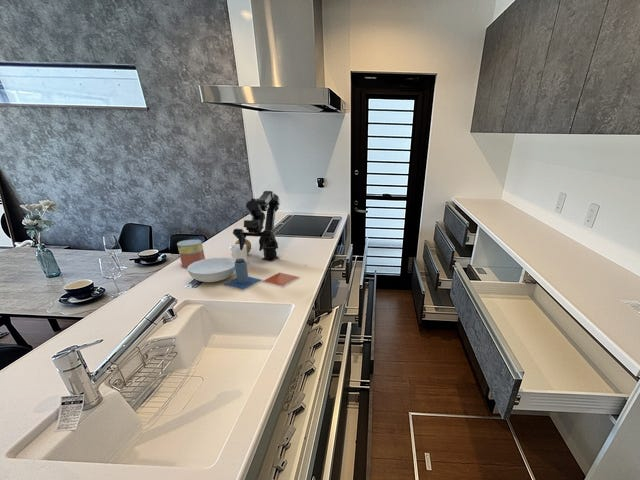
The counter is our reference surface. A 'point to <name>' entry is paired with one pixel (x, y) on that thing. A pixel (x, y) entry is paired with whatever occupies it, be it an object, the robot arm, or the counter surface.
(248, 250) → the natural sponge
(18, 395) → the counter surface
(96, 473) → the counter surface
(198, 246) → the canned food
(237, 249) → the white cup
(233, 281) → the blue mat
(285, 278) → the terracotta trivet
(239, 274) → the blue mill
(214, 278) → the serving bowl
